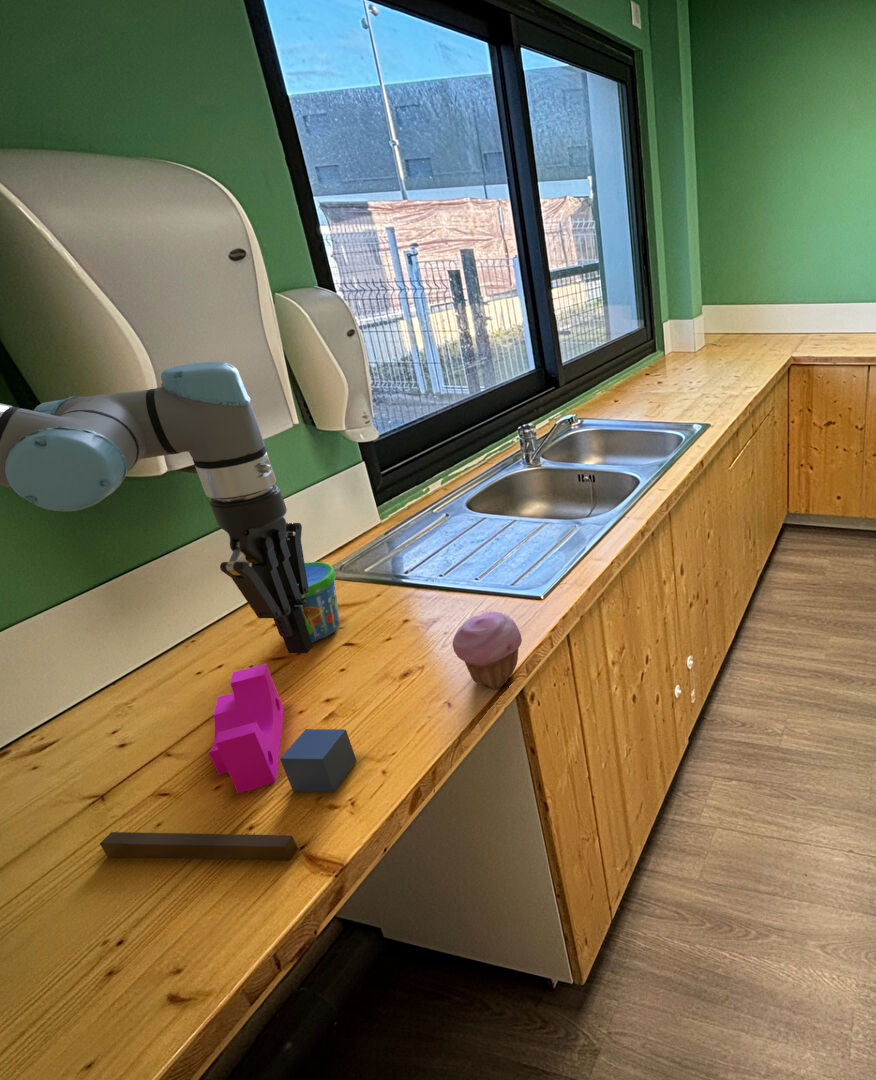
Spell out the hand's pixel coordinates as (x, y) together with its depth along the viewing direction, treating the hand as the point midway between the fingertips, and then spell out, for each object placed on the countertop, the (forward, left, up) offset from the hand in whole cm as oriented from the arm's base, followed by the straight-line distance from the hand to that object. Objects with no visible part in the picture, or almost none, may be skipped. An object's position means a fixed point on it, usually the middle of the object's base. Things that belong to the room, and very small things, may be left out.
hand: (301, 650), depth 96 cm
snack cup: (-8, +14, -6) cm, 17 cm away
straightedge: (+5, -28, -6) cm, 29 cm away
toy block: (0, -13, -6) cm, 15 cm away
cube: (+12, -17, -6) cm, 22 cm away
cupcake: (+26, +2, -6) cm, 27 cm away
